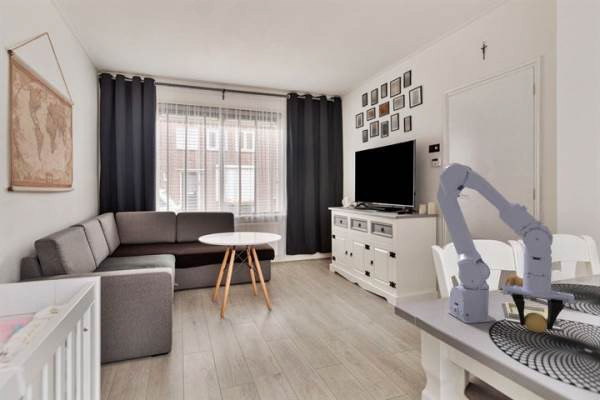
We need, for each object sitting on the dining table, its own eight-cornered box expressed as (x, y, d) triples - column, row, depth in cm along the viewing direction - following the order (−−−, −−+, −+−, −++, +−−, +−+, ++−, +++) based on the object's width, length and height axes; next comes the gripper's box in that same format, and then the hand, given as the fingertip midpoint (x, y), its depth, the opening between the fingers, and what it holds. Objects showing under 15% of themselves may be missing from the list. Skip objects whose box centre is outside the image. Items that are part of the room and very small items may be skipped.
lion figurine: (551, 301, 104) (552, 274, 103) (545, 304, 101) (546, 276, 100) (502, 290, 116) (503, 265, 115) (495, 292, 113) (496, 267, 112)
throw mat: (561, 331, 81) (561, 326, 81) (506, 321, 87) (506, 316, 87) (548, 311, 95) (549, 306, 95) (501, 304, 101) (501, 300, 101)
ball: (535, 336, 78) (536, 317, 78) (519, 328, 83) (519, 310, 83) (552, 335, 79) (552, 316, 79) (534, 327, 84) (535, 309, 84)
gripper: (569, 273, 80) (567, 326, 81) (502, 266, 87) (500, 315, 88) (577, 280, 74) (575, 337, 75) (504, 272, 81) (502, 324, 82)
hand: (535, 326), depth 81 cm, fingers open, 5 cm apart
